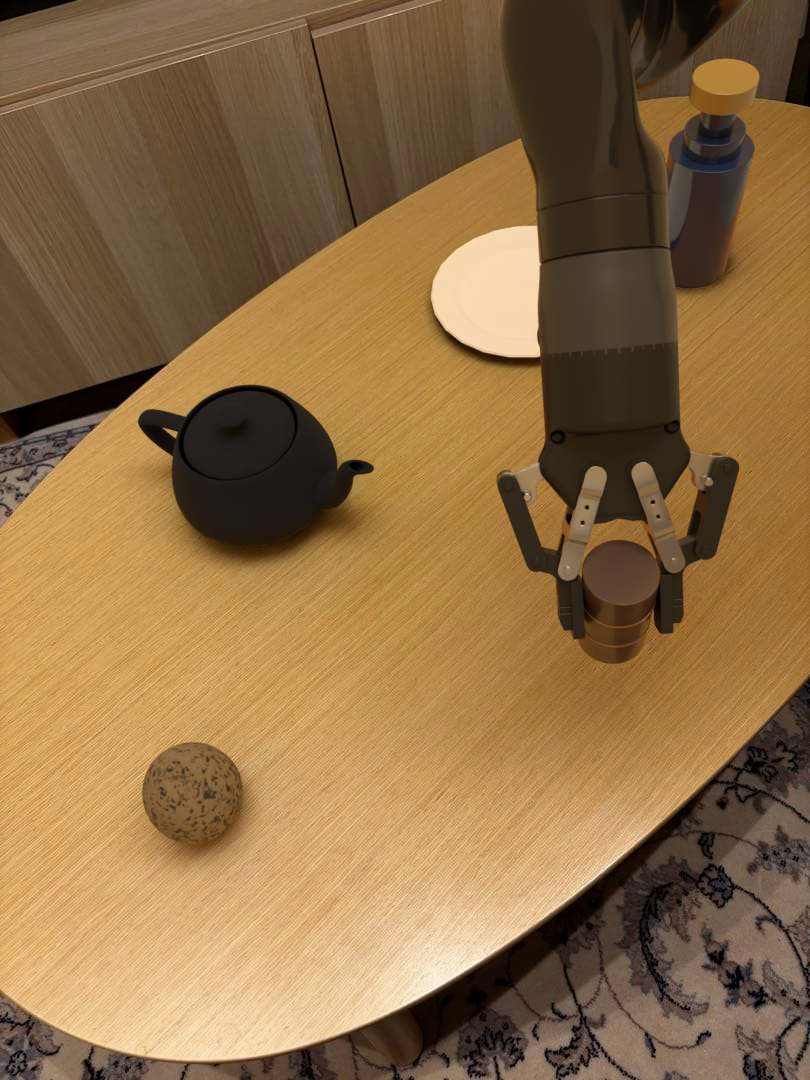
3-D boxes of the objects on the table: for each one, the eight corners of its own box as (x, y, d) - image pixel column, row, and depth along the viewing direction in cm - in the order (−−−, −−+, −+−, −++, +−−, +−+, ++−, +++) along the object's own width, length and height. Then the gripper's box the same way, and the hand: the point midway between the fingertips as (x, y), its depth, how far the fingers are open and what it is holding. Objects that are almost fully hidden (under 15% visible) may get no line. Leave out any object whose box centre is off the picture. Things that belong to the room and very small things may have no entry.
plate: (546, 212, 103) (546, 200, 102) (662, 309, 92) (665, 297, 91) (397, 287, 99) (395, 275, 97) (501, 397, 88) (500, 386, 87)
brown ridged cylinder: (659, 626, 56) (676, 563, 49) (622, 678, 55) (635, 620, 48) (599, 591, 58) (608, 526, 51) (562, 640, 56) (565, 580, 50)
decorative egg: (265, 834, 67) (228, 798, 59) (176, 869, 66) (127, 837, 58) (243, 751, 71) (206, 705, 63) (159, 783, 70) (111, 741, 62)
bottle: (739, 254, 96) (788, 65, 78) (703, 297, 93) (746, 111, 75) (674, 230, 99) (707, 43, 81) (637, 271, 96) (663, 86, 78)
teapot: (125, 525, 85) (71, 446, 75) (204, 409, 92) (164, 323, 82) (353, 600, 77) (327, 525, 67) (420, 468, 84) (406, 382, 74)
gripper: (480, 355, 45) (503, 663, 49) (761, 327, 44) (764, 645, 48) (478, 354, 53) (499, 622, 56) (719, 330, 51) (724, 606, 55)
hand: (620, 631), depth 52 cm, fingers closed on brown ridged cylinder, 4 cm apart
